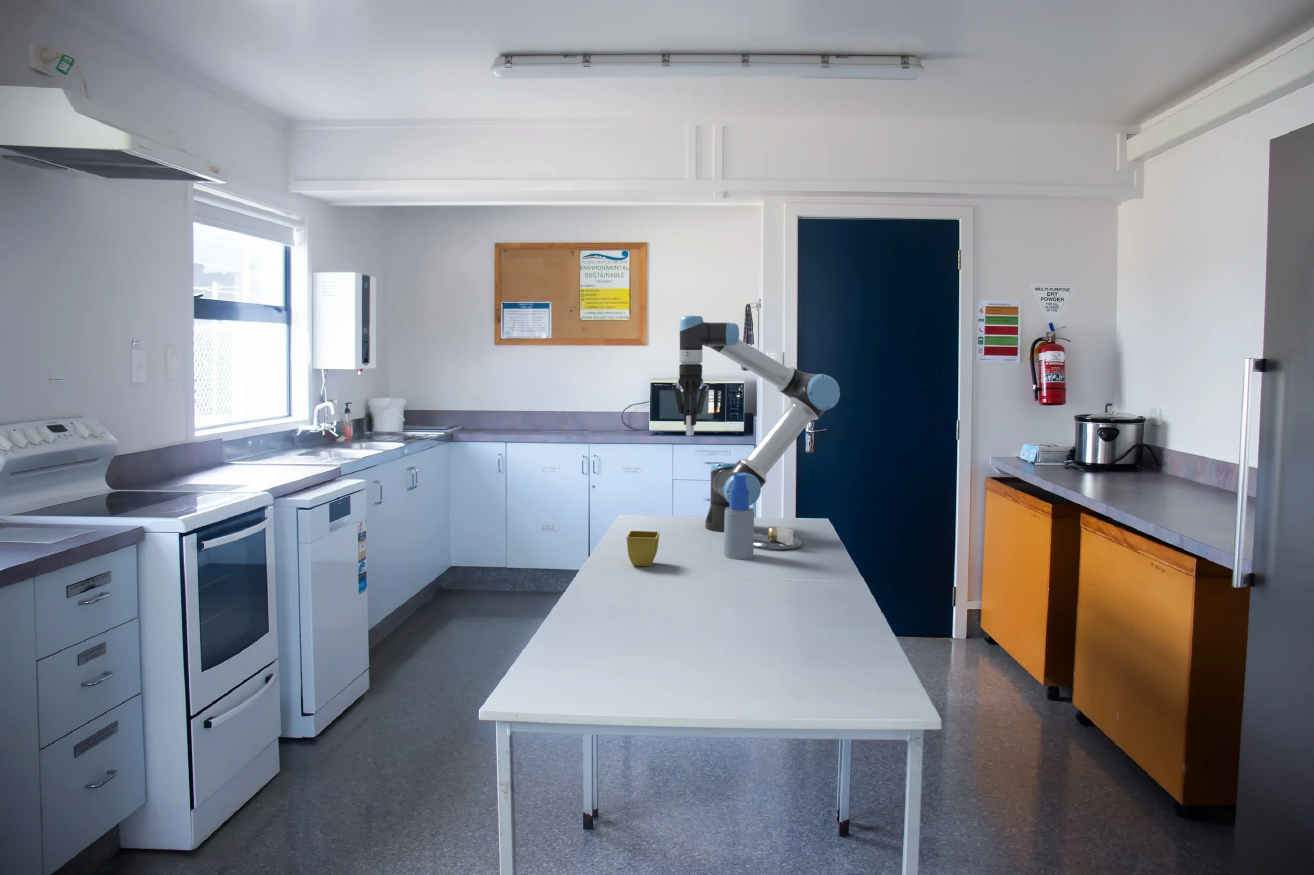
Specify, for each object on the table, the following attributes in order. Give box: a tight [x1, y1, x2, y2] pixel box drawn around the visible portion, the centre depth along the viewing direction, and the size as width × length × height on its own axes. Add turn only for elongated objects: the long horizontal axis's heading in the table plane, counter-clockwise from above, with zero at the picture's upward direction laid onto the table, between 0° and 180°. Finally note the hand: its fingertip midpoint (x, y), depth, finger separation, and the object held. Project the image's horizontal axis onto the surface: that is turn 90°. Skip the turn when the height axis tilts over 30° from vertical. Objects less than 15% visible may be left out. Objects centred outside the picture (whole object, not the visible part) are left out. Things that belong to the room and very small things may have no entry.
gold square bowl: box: [626, 530, 661, 567], centre depth 234 cm, size 9×9×9 cm
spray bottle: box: [723, 474, 755, 560], centre depth 245 cm, size 9×9×25 cm
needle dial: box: [767, 525, 794, 545], centre depth 258 cm, size 11×4×5 cm, turn 27°
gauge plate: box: [753, 534, 802, 552], centre depth 261 cm, size 17×17×1 cm
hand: (689, 435), depth 267 cm, fingers closed
